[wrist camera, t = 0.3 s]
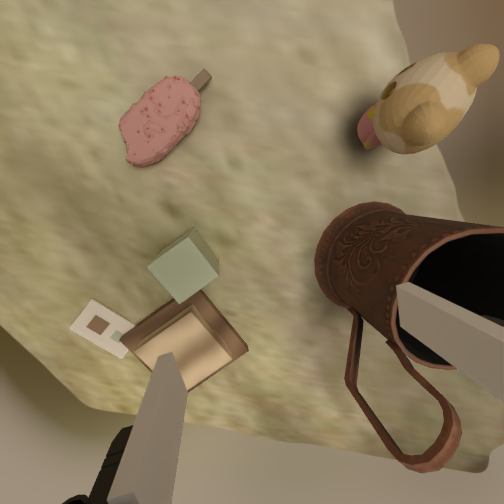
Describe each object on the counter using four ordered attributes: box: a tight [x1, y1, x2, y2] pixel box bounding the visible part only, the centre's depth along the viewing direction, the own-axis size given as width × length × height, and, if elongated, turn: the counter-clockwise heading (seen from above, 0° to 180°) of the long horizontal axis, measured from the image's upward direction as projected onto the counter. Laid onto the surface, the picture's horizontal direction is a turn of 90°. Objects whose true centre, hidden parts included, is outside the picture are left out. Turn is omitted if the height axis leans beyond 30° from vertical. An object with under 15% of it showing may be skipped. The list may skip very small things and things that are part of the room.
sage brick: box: [146, 227, 219, 304], centre depth 34 cm, size 6×6×8 cm
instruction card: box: [69, 298, 136, 359], centre depth 39 cm, size 9×6×1 cm, turn 49°
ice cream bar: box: [119, 69, 212, 167], centre depth 31 cm, size 6×4×15 cm
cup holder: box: [314, 202, 504, 473], centre depth 30 cm, size 18×24×25 cm
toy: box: [357, 44, 500, 154], centre depth 30 cm, size 10×8×15 cm
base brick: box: [119, 289, 249, 392], centre depth 39 cm, size 14×14×4 cm
